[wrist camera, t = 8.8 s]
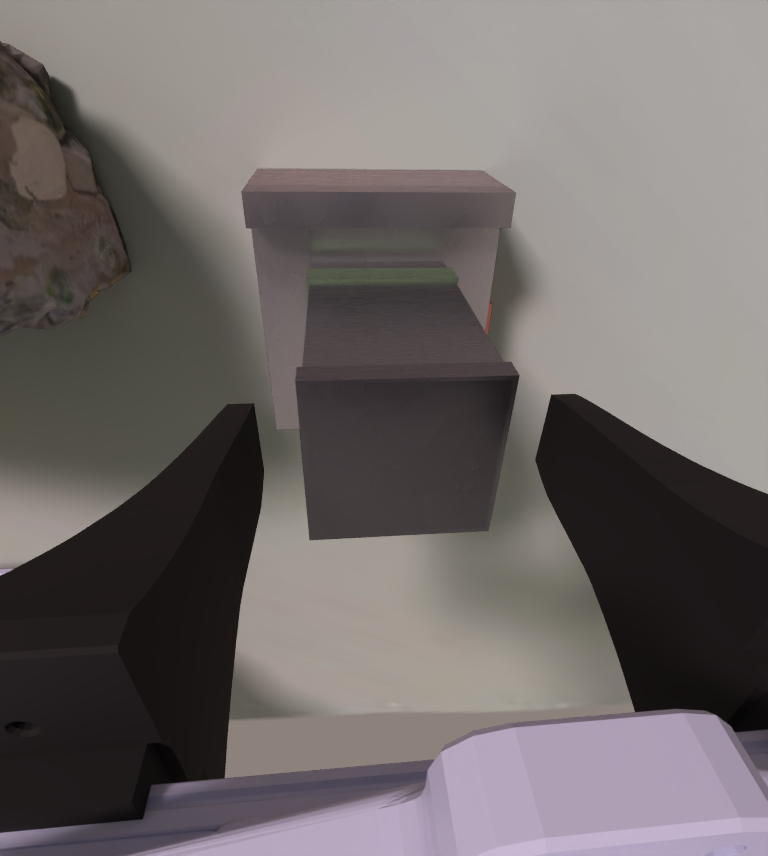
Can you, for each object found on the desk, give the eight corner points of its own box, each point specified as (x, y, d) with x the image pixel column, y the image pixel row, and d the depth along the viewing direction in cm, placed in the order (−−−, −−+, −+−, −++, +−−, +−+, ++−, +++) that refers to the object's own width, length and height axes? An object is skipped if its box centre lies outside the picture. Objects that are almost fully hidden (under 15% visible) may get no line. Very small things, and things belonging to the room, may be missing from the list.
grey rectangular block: (435, 377, 20) (488, 530, 13) (316, 381, 19) (309, 540, 13) (446, 258, 17) (519, 375, 11) (307, 258, 17) (294, 380, 10)
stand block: (460, 385, 24) (481, 437, 20) (281, 390, 23) (274, 444, 20) (486, 170, 18) (520, 192, 15) (257, 168, 18) (241, 191, 14)
